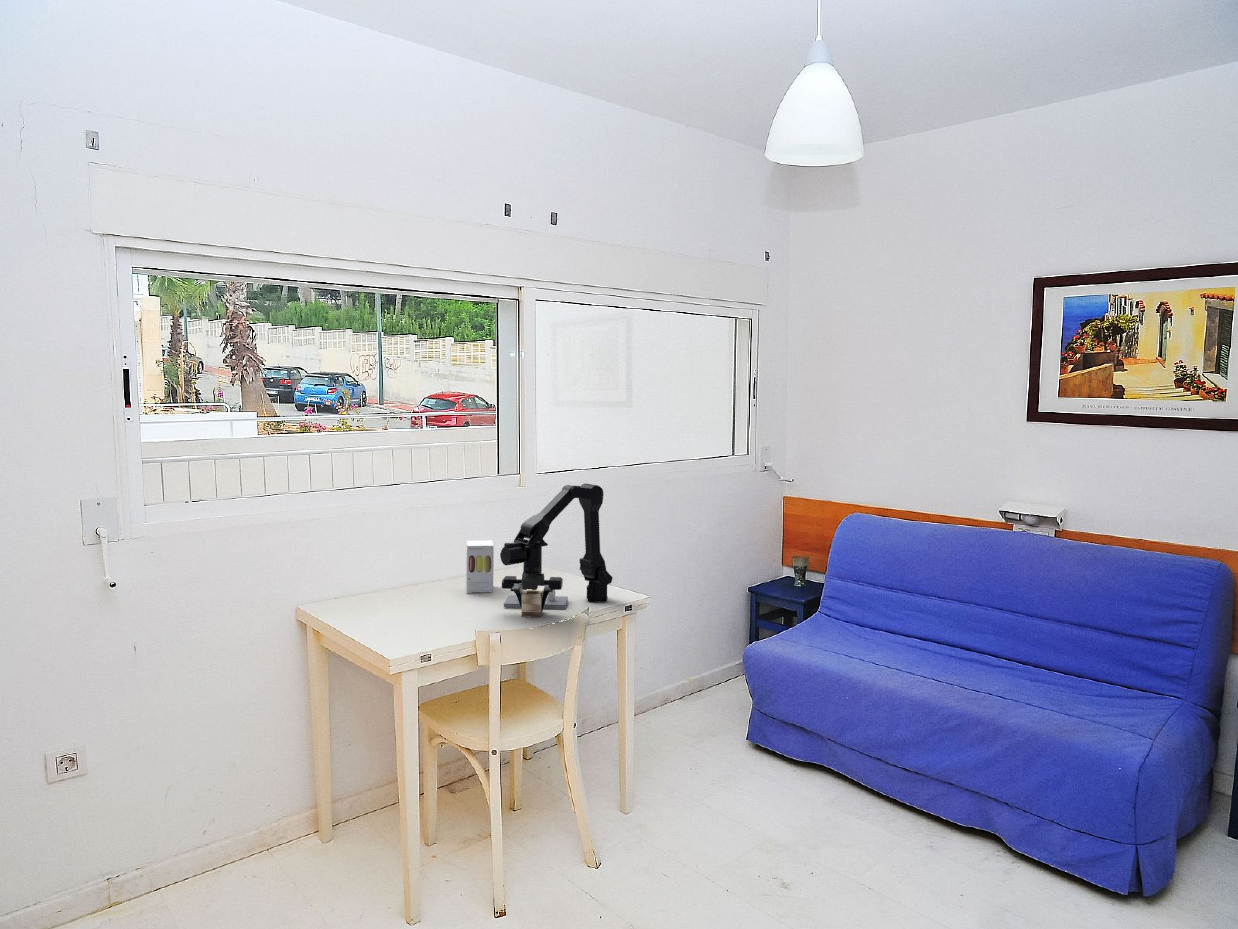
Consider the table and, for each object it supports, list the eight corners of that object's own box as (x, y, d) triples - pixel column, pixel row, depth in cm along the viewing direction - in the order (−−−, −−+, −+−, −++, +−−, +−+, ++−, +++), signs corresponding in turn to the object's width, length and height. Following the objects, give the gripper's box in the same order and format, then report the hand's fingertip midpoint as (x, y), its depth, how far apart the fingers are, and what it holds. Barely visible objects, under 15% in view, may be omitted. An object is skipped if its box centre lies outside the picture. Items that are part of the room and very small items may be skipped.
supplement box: (466, 593, 279) (465, 545, 277) (465, 586, 288) (465, 540, 286) (494, 592, 281) (494, 545, 279) (492, 585, 290) (492, 539, 288)
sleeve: (542, 611, 259) (542, 590, 259) (540, 617, 253) (540, 595, 253) (524, 611, 259) (524, 589, 259) (521, 616, 253) (521, 594, 253)
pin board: (567, 600, 272) (568, 583, 272) (565, 609, 262) (565, 591, 262) (508, 599, 272) (508, 582, 272) (503, 608, 263) (503, 590, 262)
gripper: (498, 566, 247) (498, 616, 248) (559, 567, 246) (559, 617, 248) (504, 558, 258) (504, 606, 259) (563, 559, 257) (562, 607, 259)
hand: (532, 609), depth 256 cm, fingers closed on sleeve, 6 cm apart
